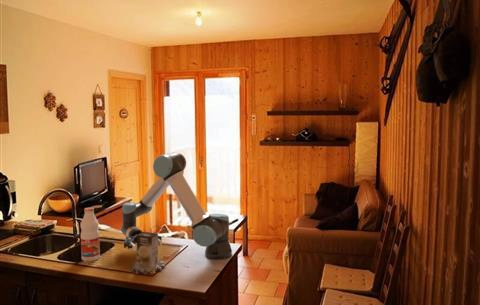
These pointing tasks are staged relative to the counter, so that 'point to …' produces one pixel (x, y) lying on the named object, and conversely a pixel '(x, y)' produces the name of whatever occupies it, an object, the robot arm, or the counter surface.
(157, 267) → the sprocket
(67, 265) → the counter surface
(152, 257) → the coffee box
